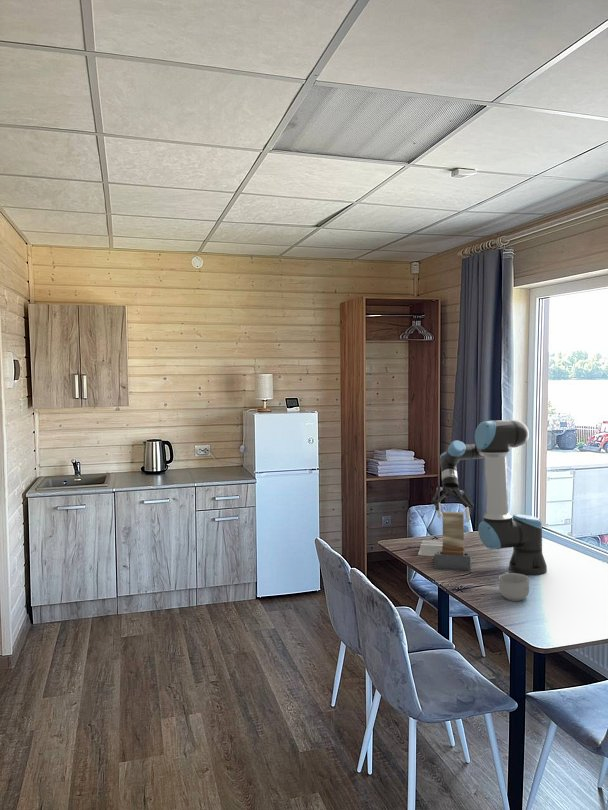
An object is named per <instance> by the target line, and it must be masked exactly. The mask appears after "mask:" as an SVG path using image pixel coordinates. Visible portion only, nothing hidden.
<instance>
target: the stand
mask: <svg viewBox="0 0 608 810" xmlns="http://www.w3.org/2000/svg"><path fill="white" fill-rule="evenodd" d="M419 545H420V546H419V547H420V548H419V551H418V553H417V556H426V557H434V554H437V552H439V554H440V551H442V546H443V541H436V540H435V541H434V540H421V543H420V544H419Z"/></svg>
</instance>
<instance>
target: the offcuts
mask: <svg viewBox="0 0 608 810" xmlns="http://www.w3.org/2000/svg"><path fill="white" fill-rule="evenodd" d="M464 553H465V545H464V546H446V545H443V546H442V554H449V555H464Z"/></svg>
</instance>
